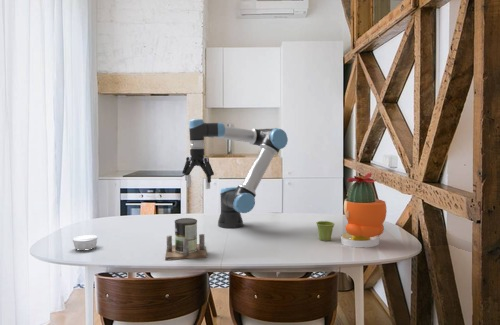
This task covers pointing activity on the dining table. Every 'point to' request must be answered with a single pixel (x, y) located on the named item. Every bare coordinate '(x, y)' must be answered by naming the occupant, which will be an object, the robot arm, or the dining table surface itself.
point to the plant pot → (325, 230)
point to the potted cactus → (363, 214)
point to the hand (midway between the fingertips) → (198, 187)
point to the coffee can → (186, 234)
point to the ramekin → (85, 242)
